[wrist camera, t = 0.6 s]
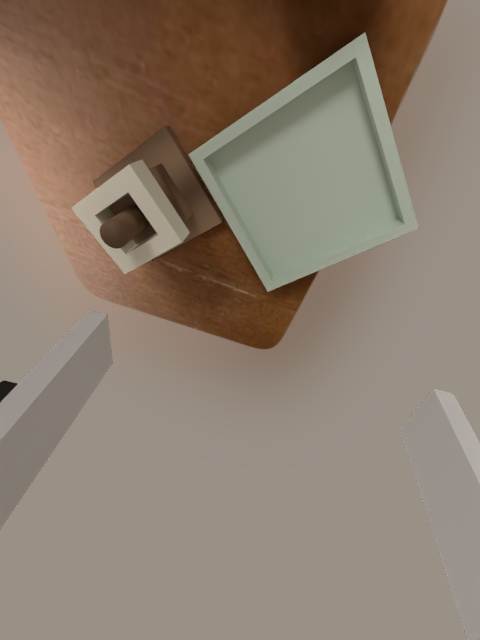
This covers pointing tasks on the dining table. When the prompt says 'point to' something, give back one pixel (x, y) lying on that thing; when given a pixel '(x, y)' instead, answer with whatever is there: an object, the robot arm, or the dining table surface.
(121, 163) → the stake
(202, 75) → the dining table surface
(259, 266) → the tray
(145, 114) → the dining table surface
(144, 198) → the ring
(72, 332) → the robot arm
